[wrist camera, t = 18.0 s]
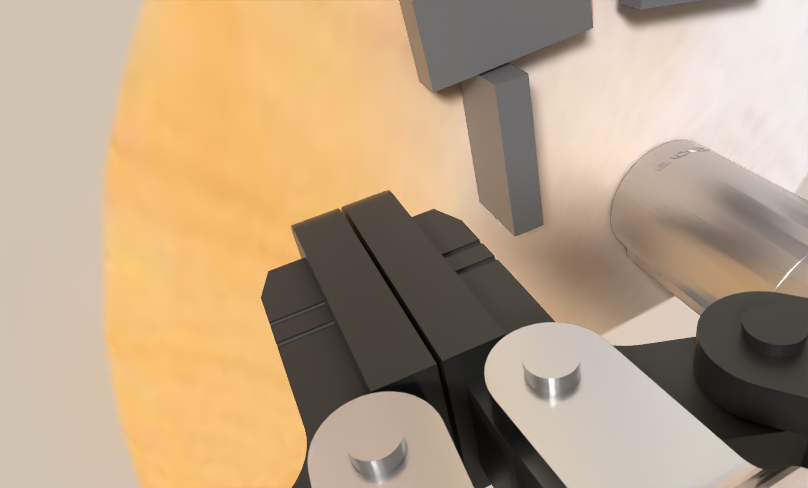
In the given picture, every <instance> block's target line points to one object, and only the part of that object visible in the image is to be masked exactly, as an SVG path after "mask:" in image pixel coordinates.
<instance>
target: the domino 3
mask: <svg viewBox="0 0 808 488" xmlns="http://www.w3.org/2000/svg"><path fill="white" fill-rule="evenodd" d="M694 1H700V0H619V3H620V4H623V5H626V6H629V7H633V8H636V9H639V10H643V9H649V8H656V7H662V6H668V5H675V4H681V3H687V2H694Z"/></svg>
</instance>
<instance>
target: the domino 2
mask: <svg viewBox="0 0 808 488" xmlns="http://www.w3.org/2000/svg"><path fill="white" fill-rule="evenodd" d="M460 86H461V92H462V98H463V104H464V110H465V116H466V122H467V128H468V134H469V140H470V146H471V152H472V158H473V164H474V171H475V177H476V183H477V189H478V195H479V201H480V203H481V204H482V205H483V206H485V207H486V208H487V209H488V210H489V211H490V212H491V213H492V214H493V215H494V216H495V217H496V218H497V219H498V220H499V221H500V222H501V223H502V224H503V225H504V226H505V227H506V228H507V229H508V230H509V231H510V232H511V233H512V234H513V235H514V236H517V235H520V234H522V233H525V232H527V231H529V230H532V229H534V228H537V227H539V226H542V225H543V216H542V206H541V196H540V186H539V176H538V167H537V157H536V147H535V137H534V127H533V117H532V107H531V97H530V87H529V77H528V73H526V72H524V71H523V70H521V69H519V68H517V67H516V66H514V65H512V64H510V63H509V62H508V63H505V64H503V65H500V66H498V67H496V68H493V69H491V70H488V71H486V72H483V73H481V74H478V75H476V76H473V77H471V78H469V79H466V80H464V81H461V82H460Z"/></svg>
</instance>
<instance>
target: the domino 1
mask: <svg viewBox="0 0 808 488" xmlns="http://www.w3.org/2000/svg"><path fill="white" fill-rule="evenodd" d="M399 1H400V5H401V9H402V13H403V17H404V21H405V25H406V29H407V33H408V37H409V41H410V45H411V49H412V53H413V57H414V61H415V65H416V69H417V73H418V77H419V81H420V83H422V84H423V85H424V86H426V87H427V88H428V89H429V90H431V91H432V92H433V93H434V92H437V91H439V90H442V89H444V88H447V87H449V86H451V85H454V84H456V83H459V82H461V81H464V80H466V79H469V78H471V77H473V76H476V75H478V74H481V73H483V72H486V71H488V70H491V69H493V68H496V67H498V66H500V65H503V64H505V63H508V62H510V61H513V60H515V59H518V58H520V57H522V56H525V55H527V54H530V53H532V52H535V51H537V50H540V49H542V48H545V47H547V46H549V45H552V44H554V43H557V42H559V41H562V40H564V39H567V38H569V37H571V36H574V35H576V34H579V33H581V32H584V31H586V30H589V29H591V28H593V19H592V7H591V0H399Z"/></svg>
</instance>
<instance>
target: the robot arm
mask: <svg viewBox="0 0 808 488" xmlns="http://www.w3.org/2000/svg"><path fill="white" fill-rule="evenodd" d="M341 210H342V212H341ZM341 210H340V209H335V210H333V211H330V212H327V213H324V214H322V215H319V216H316V217H313V218H311V219H308V220H305V221H303V222H300V223H297V224H294V225H292V226H291V228H292V232H293V235H294V238H295V241H296V244H297V247H298V250H299V252H300V255H301V258H302V259H300V260H297V261H295V262H292V263H289V264H287V265H284V266H281V267H279V268H276V269H273V270H271V271H268V275H267V278H266V282H265V285H264V289H263V292H262V296H261V299H262V302H263V305H264V308H265V311H266V314H267V317H268V320H269V323H270V325H271V329H272V332H273V335H274V338H275V341H276V344H277V346H278V350H279V353H280V356H281V359H282V362H283V365H284V368H285V371H286V374H287V377H288V380H289V383H290V386H291V389H292V392H293V395H294V398H295V401H296V404H297V407H298V410H299V413H300V416H301V419H302V422H303V425H304V427H305V432H306V436H307V451H306V458H305V461H304V464H303V467H302V470H301V472H300V474H299V476H298V478H297V480H296V482H295V484H294V485H293V487H292V488H485V487H487V486H489V485H491V484H492V486H493V487H494V488H808V201H807V200H805V199H803V198H801V197H800V196H798V195H796V194H794V193H792V192H790V191H788V190H786V189H784V188H782V187H780V186H778V185H777V184H775V183H773V182H771V181H769V180H767V179H765V178H763V177H761V176H759V175H757V174H755V173H753V172H752V171H750V170H748V169H746V168H744V167H742V166H740V165H738V164H736V163H734V162H732V161H731V160H729V159H727V158H725V157H723V156H721V155H719V154H717V153H715V152H713V151H711V150H709V149H707V148H706V147H704V146H702V145H700V144H698V143H696V142H693V141H689V140H675V141H671V142H668V143H664V144H662V145H660V146H658V147H656V148H654V149H653V150H651V151H650V152H648V153H647V154H646V155H644V156H643V157H642V158H641V159H640V160H639V161H638V162H637V163H636V164H635V165H634V166H633V167H632V168H631V169H630V170H629V172H628V173H627V174H626V176H625V177H624V179H623V180H622V182H621V184H620V186H619V187H618V189H617V192H616V194H615V197H614V200H613V204H612V209H611V225H612V229H613V232H614V234H615V236H616V237H617V239H618V240H619V241H620V242H621V243H623V244H624V245H625V246H626V248H627V257H628V258H629V259H631V260H632V261H633V262H634V263H636V264H637V265H638V266H639V267H641V268H642V269H643V270H644V271H646V272H647V273H648V274H649V275H650V276H652V277H653V278H654V279H655V280H657V281H658V282H659V283H660V284H662V285H663V286H664V287H665V288H667V289H668V290H669V291H670V292H672V293H673V294H674V295H675V296H676V297H678V298H679V299H680V300H681V301H683V302H684V303H685V304H686V305H688V306H689V307H690V308H691V309H693V310H694V311H695V312H696V313H698V314H699V315H700V318H699V321H698V325H697V333H696V337H692V338H684V339H677V340H671V341H664V342H657V343H650V344H643V345H634V346H613V345H611V344H610V343H609V342H608V341H606V340H605V339H604V338H602V337H601V336H600V335H598V334H597V333H595V332H593V331H591V330H589V329H586V328H583V327H581V326H578V325H573V324H569V323H560V322H555V321H554V320H553V319H552V318H551V317H550V316H549V315H548V313H547V312H546V311H545V310H544V309H543V308H542V307H541V306H540V305H539V304H538V303H537V302H536V300H535V299H534V298H533V297H532V296H531V295H530V294H529V293H528V292H527V291H526V290H525V289H524V287H523V286H522V285H521V284H520V283H519V282H518V281H517V280H516V279H515V278H514V277H513V276H512V274H511V273H510V272H509V271H508V270H507V269H506V268H505V267H504V266H503V265H502V264H501V263H500V262H499V260H495V257H494V255H493V254H492V253H491V252H490V251H489V250H488V249H487V247H486V246H485V245H484V244H481V243H480V241H479V239H478V238H477V237H476V236H475V234H474V233H473V232H472V231H471V230H470V229H469V228H468V227H467V226H466V225H465V224H464V223H463V221H462V220H459V219H457V218H454V217H452V216H449V215H447V214H445V213H442V212H440V211H437V210H435V209H432V210H430V211H427V212H424V213H422V214H419V215H416V216H414V217H411V216H410V215H409V214H408V212H407V211H406V210H405V209H404V207H403V206H402V205H401V204H400V202H399V201H398V200H397V199H396V197H395V196H394V195H393V194H392V192H390V191H389V190H387V191H384V192H381V193H379V194H376V195H373V196H371V197H368V198H365V199H362V200H360V201H357V202H354V203H351V204H349V205H346V206H343V207H342V209H341Z"/></svg>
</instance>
